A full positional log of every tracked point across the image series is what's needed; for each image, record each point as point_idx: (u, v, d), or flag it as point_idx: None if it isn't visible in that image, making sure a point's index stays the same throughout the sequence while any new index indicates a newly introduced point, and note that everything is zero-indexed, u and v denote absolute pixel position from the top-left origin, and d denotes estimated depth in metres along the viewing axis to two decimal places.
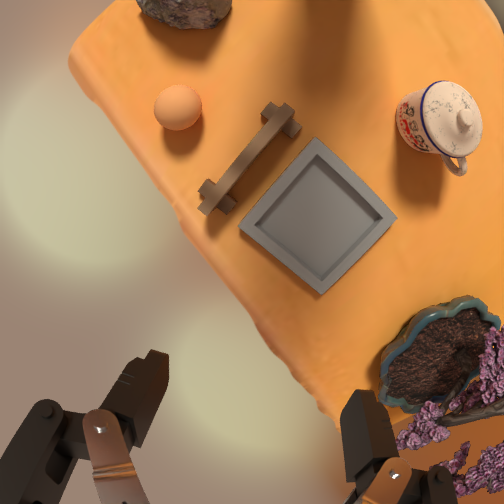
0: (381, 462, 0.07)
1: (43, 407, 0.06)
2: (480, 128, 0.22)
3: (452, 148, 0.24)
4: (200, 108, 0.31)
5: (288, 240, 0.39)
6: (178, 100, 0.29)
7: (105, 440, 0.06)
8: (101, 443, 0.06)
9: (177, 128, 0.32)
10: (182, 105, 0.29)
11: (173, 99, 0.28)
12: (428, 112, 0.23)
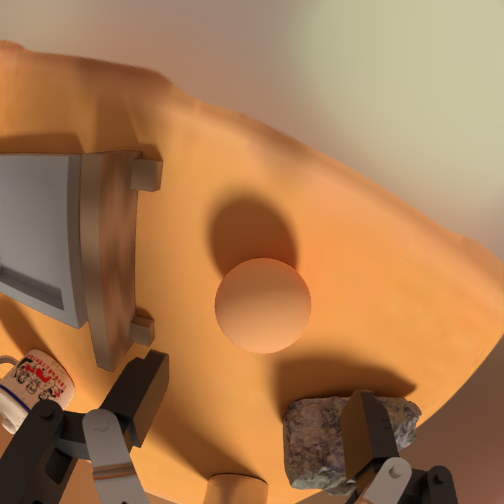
0: (381, 462, 0.07)
1: (43, 406, 0.06)
2: None
3: None
4: None
5: (29, 181, 0.19)
6: (246, 343, 0.16)
7: (105, 440, 0.06)
8: (101, 443, 0.06)
9: (233, 277, 0.16)
10: (234, 335, 0.16)
11: (256, 343, 0.15)
12: (24, 415, 0.19)
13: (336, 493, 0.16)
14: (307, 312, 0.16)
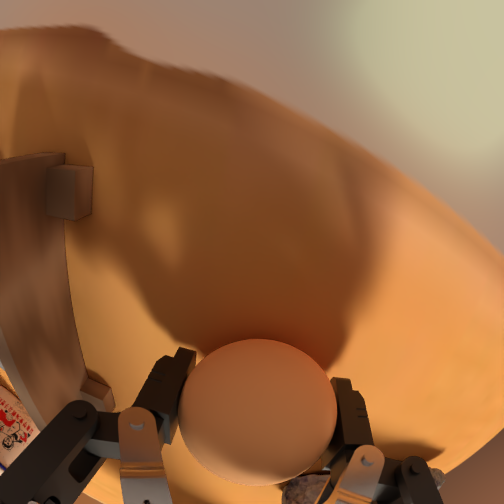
0: (354, 449, 0.08)
1: (77, 407, 0.07)
2: None
3: None
4: None
5: None
6: (228, 480, 0.07)
7: (139, 438, 0.07)
8: (139, 441, 0.06)
9: (203, 387, 0.08)
10: (208, 469, 0.08)
11: (244, 484, 0.07)
12: None
13: None
14: (331, 436, 0.08)
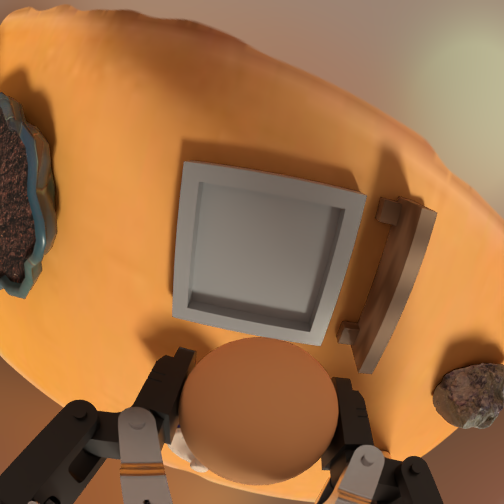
0: (354, 449, 0.08)
1: (77, 407, 0.07)
2: (176, 453, 0.26)
3: None
4: None
5: (282, 205, 0.24)
6: (229, 479, 0.07)
7: (139, 437, 0.07)
8: (139, 441, 0.06)
9: (204, 386, 0.08)
10: (209, 469, 0.08)
11: (245, 483, 0.07)
12: None
13: (484, 426, 0.21)
14: (332, 434, 0.08)
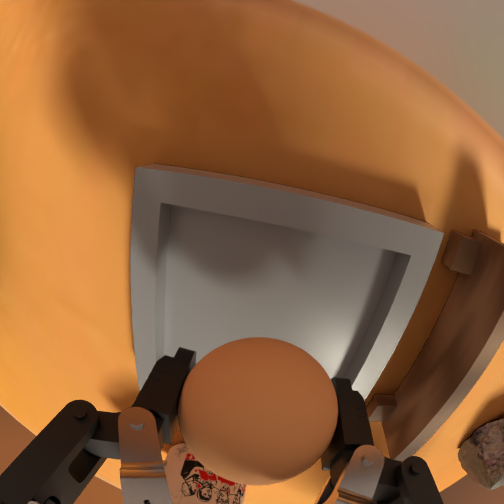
0: (354, 449, 0.08)
1: (77, 407, 0.07)
2: None
3: None
4: None
5: (306, 243, 0.14)
6: (228, 479, 0.07)
7: (139, 438, 0.07)
8: (139, 441, 0.06)
9: (204, 385, 0.08)
10: (209, 469, 0.08)
11: (244, 483, 0.07)
12: None
13: None
14: (332, 434, 0.08)
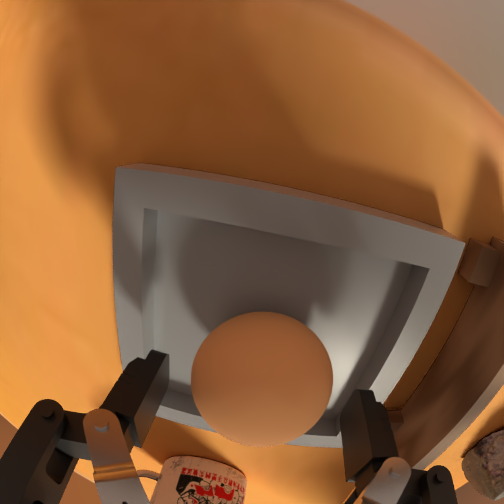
0: (380, 462, 0.07)
1: (44, 406, 0.06)
2: None
3: None
4: None
5: (311, 253, 0.12)
6: (236, 440, 0.09)
7: (105, 440, 0.06)
8: (102, 443, 0.06)
9: (216, 350, 0.10)
10: (218, 430, 0.09)
11: (250, 443, 0.09)
12: None
13: None
14: (328, 397, 0.10)
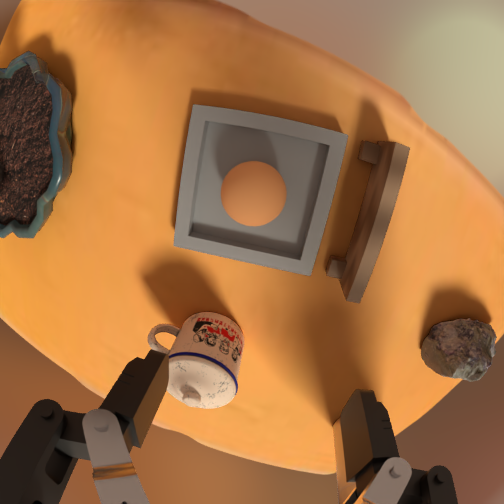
0: (381, 462, 0.07)
1: (43, 407, 0.06)
2: (169, 391, 0.30)
3: (181, 363, 0.28)
4: None
5: (276, 143, 0.27)
6: (241, 209, 0.24)
7: (105, 440, 0.06)
8: (101, 443, 0.06)
9: (234, 168, 0.24)
10: (233, 204, 0.24)
11: (247, 208, 0.24)
12: (224, 379, 0.28)
13: (474, 379, 0.25)
14: (282, 192, 0.24)
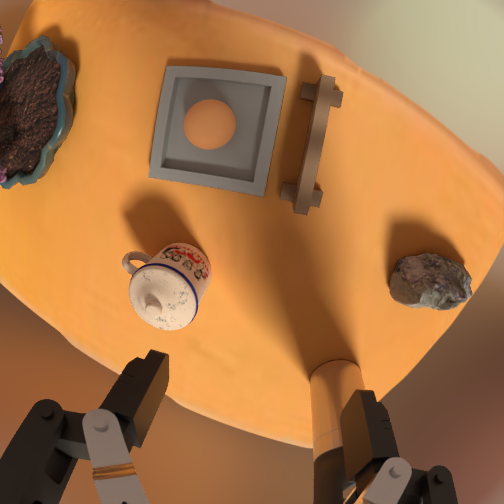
0: (381, 462, 0.07)
1: (43, 406, 0.06)
2: (136, 309, 0.33)
3: (146, 274, 0.32)
4: None
5: (230, 90, 0.31)
6: (196, 130, 0.28)
7: (105, 440, 0.06)
8: (101, 443, 0.06)
9: (193, 105, 0.29)
10: (190, 128, 0.28)
11: (200, 129, 0.28)
12: (184, 288, 0.31)
13: (445, 307, 0.29)
14: (230, 118, 0.29)
